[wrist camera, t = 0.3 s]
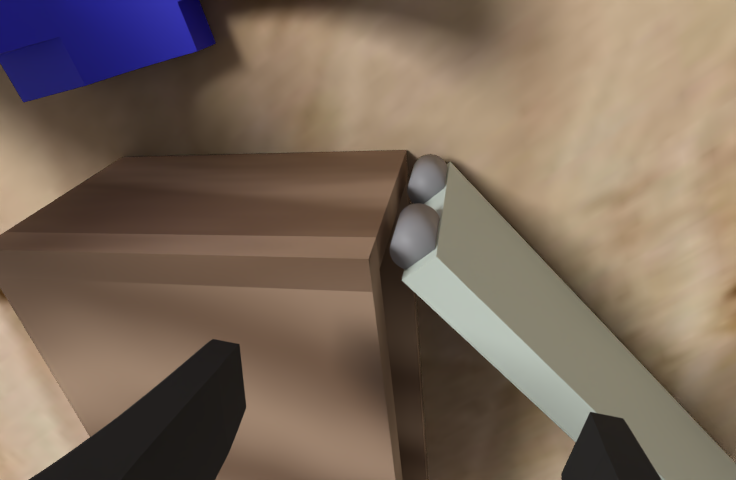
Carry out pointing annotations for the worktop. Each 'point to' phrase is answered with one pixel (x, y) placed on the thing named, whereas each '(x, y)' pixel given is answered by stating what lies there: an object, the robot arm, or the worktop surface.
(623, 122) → the worktop surface
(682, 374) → the worktop surface
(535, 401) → the cabinet door
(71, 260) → the cabinet
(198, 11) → the cable clip
